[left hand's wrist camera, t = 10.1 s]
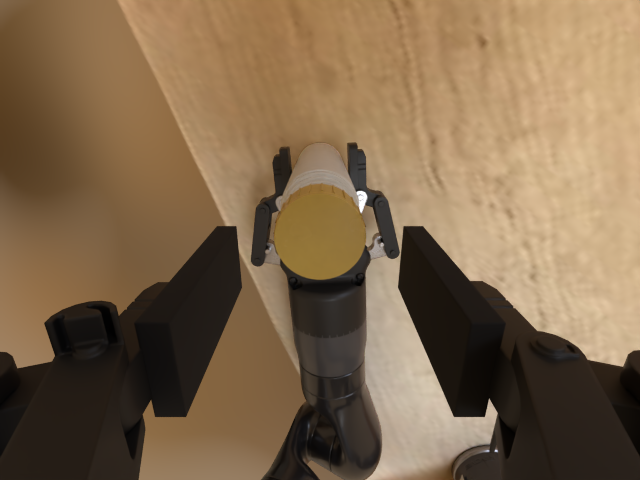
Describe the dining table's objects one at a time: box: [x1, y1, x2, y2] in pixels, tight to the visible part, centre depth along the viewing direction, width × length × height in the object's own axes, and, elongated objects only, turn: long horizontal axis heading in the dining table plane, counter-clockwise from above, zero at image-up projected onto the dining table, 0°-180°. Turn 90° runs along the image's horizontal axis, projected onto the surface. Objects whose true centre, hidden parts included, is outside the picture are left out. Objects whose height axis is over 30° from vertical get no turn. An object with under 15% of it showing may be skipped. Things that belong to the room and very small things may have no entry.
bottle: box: [281, 142, 359, 207], centre depth 26 cm, size 5×5×21 cm
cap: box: [274, 183, 366, 280], centre depth 17 cm, size 4×4×2 cm
